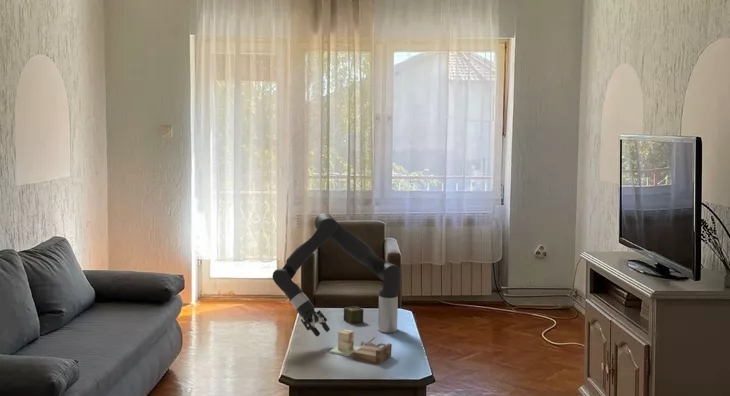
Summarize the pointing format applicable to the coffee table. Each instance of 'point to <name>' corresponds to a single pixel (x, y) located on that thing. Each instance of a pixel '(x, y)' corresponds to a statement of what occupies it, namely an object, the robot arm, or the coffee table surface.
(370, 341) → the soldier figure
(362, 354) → the walnut ledge
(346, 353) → the pad
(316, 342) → the coffee table surface
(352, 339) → the birch block
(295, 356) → the coffee table surface
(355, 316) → the olive green cube
